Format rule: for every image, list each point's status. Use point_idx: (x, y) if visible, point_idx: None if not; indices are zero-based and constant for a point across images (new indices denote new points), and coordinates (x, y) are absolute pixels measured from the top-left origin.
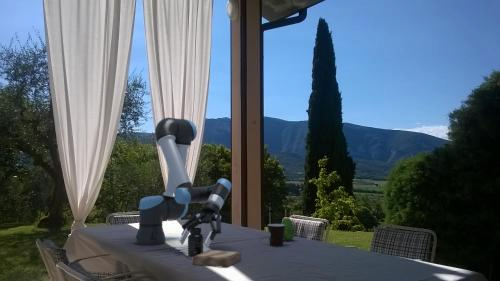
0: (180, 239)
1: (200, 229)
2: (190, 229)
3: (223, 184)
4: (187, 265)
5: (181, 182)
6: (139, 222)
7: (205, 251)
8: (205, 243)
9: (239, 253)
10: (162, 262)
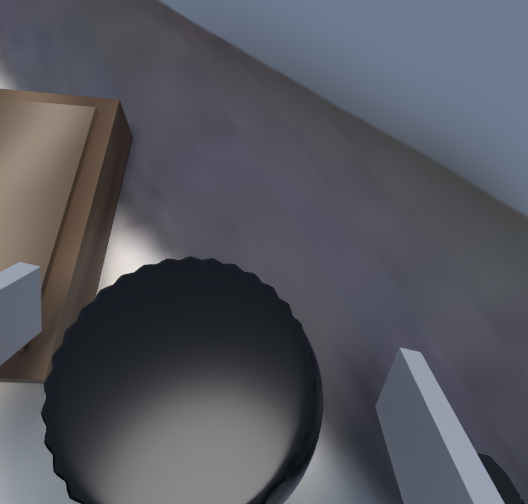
0: (413, 361)
1: (57, 376)
2: (283, 305)
3: None
4: (156, 112)
5: None
6: None
7: (64, 297)
8: (23, 263)
9: None
10: (332, 141)
